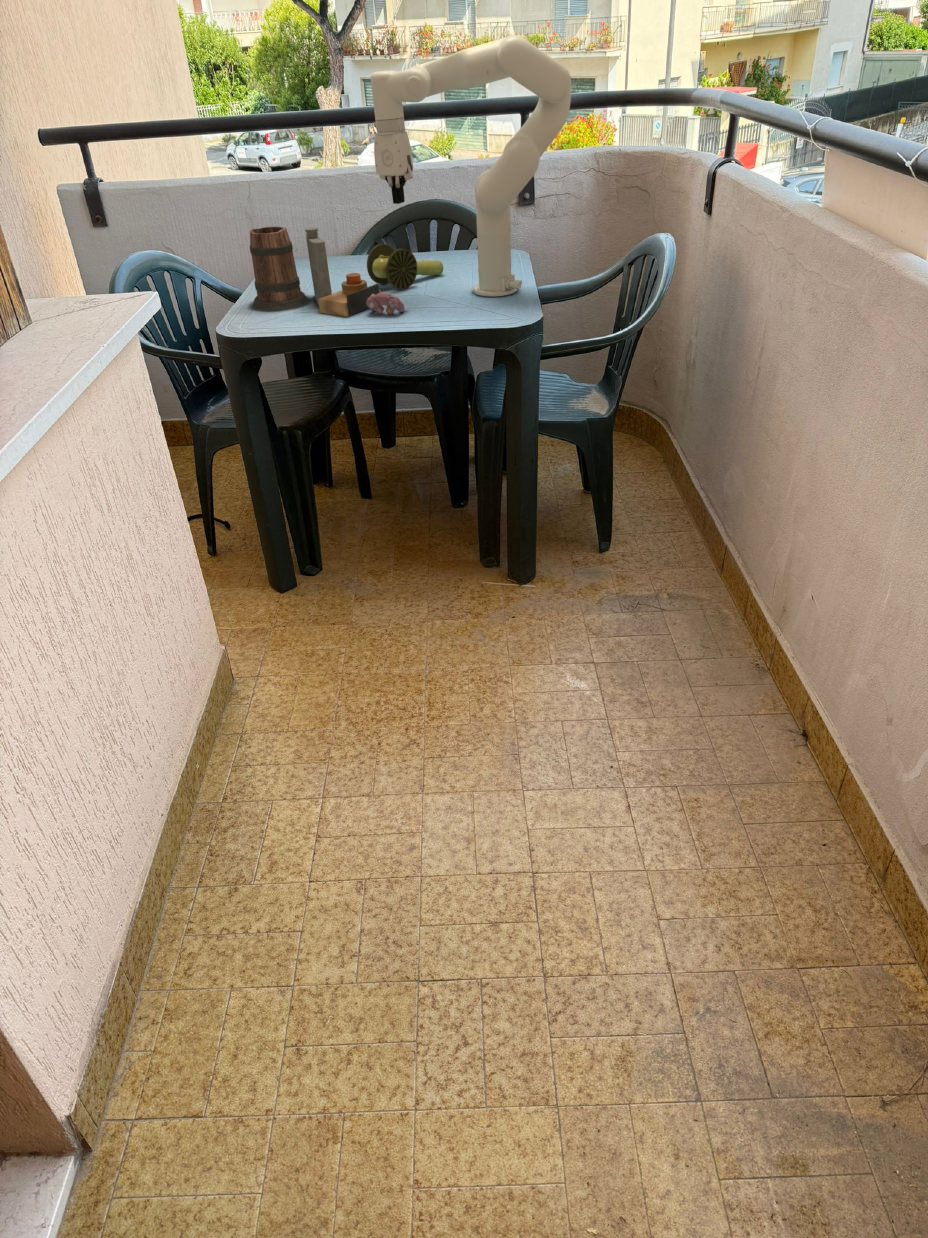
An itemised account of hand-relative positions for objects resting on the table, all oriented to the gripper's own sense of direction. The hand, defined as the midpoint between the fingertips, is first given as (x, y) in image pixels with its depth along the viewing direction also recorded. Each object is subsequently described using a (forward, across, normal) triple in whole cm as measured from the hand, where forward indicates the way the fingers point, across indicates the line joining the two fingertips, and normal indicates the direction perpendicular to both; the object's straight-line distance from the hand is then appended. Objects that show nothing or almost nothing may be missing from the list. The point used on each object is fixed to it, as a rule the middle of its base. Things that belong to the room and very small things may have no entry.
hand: (399, 202), depth 231 cm
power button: (+19, -8, -14) cm, 25 cm away
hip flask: (+24, -20, -16) cm, 35 cm away
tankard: (+24, -32, -20) cm, 45 cm away
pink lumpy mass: (+25, +6, -18) cm, 31 cm away
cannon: (+25, -9, +12) cm, 29 cm away
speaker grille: (+24, -2, -18) cm, 30 cm away
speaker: (+24, -8, -17) cm, 31 cm away
